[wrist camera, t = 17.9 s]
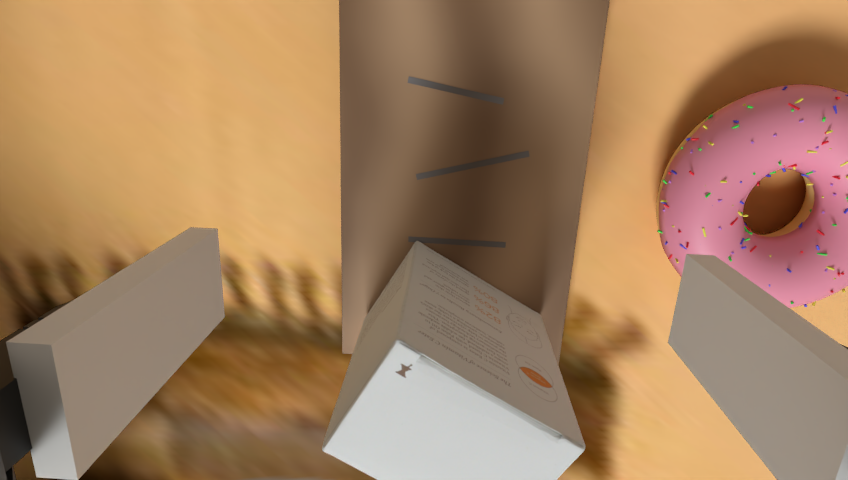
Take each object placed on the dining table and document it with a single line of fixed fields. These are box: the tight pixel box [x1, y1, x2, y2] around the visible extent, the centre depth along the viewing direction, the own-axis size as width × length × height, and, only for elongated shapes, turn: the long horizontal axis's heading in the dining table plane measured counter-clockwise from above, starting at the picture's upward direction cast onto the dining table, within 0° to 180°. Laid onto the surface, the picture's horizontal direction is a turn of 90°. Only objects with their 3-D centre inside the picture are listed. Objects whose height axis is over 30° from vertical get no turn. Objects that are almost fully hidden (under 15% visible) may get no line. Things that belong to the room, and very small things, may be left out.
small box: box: [322, 241, 585, 480], centre depth 24 cm, size 8×6×10 cm
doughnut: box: [656, 84, 848, 308], centre depth 25 cm, size 11×11×4 cm
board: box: [339, 0, 610, 364], centre depth 27 cm, size 12×20×2 cm, turn 178°
